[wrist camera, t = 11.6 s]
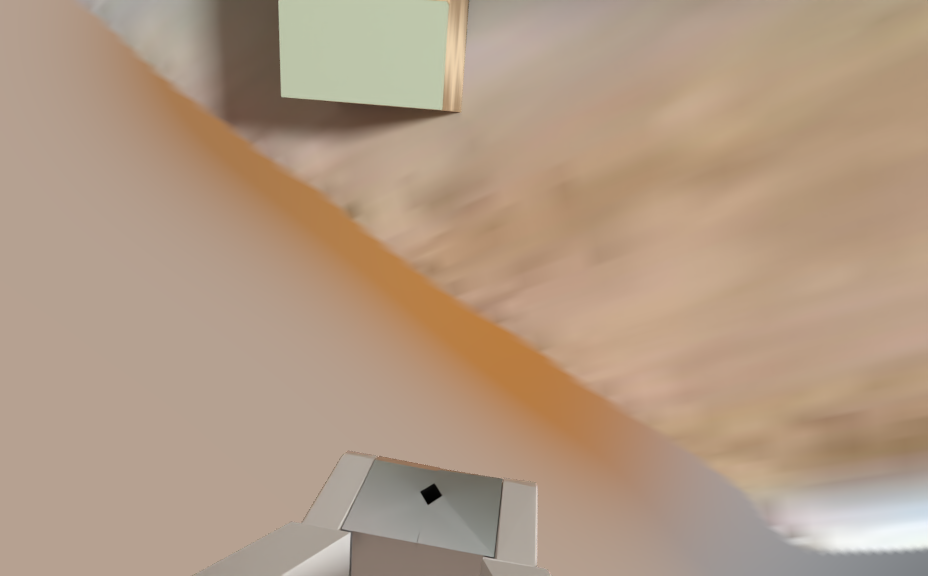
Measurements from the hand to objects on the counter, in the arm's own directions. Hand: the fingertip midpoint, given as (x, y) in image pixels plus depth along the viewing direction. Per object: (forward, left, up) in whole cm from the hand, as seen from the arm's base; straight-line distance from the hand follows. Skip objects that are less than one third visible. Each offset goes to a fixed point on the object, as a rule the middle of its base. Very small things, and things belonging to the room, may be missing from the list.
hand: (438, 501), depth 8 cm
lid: (-12, -9, -24) cm, 28 cm away
